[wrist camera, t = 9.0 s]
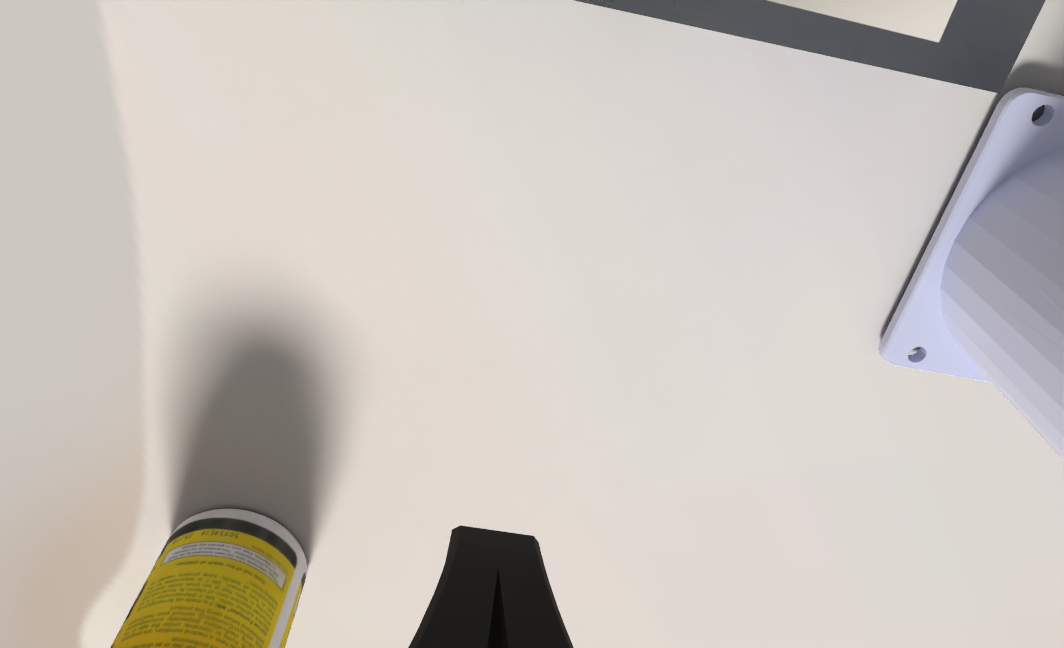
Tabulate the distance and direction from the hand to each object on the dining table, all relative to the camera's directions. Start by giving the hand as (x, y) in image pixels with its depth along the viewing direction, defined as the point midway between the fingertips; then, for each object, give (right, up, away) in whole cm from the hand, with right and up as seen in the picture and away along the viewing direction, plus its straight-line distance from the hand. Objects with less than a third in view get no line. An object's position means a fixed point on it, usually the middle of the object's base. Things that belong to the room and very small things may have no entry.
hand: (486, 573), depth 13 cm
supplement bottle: (-9, -4, +14) cm, 17 cm away
